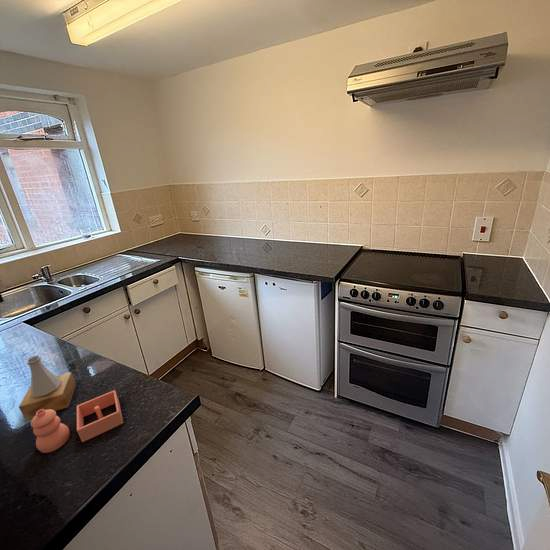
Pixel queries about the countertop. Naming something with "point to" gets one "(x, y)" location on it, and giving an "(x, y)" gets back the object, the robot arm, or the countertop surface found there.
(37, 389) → the flask
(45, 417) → the pottery
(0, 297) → the robot arm
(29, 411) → the oak block
